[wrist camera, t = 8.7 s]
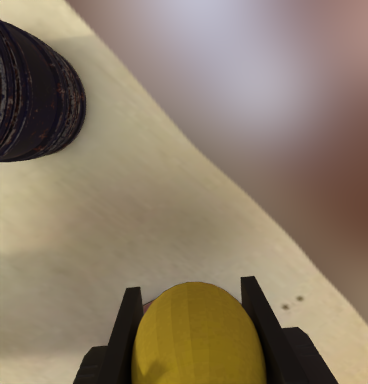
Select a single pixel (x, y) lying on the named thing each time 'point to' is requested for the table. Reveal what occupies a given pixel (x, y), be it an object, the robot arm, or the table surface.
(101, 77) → the table surface
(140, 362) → the lemon
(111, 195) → the table surface
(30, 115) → the storage jar
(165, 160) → the table surface
